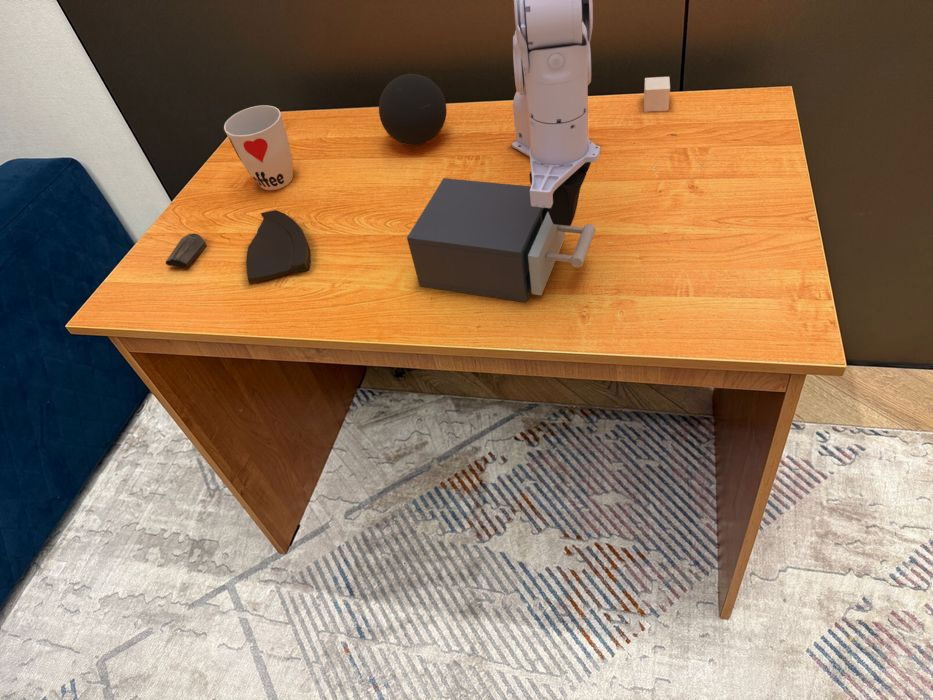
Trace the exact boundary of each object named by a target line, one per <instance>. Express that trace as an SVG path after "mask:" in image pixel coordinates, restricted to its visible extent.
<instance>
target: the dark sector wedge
mask: <svg viewBox="0 0 933 700" xmlns="http://www.w3.org/2000/svg"><path fill="white" fill-rule="evenodd" d="M260 216H261V217H262V222H261V223H260V225H259V226H258V228H257V230H256V234H255V236H254V237H253V238H252V240H251V242H250V243H249V245H248V246H247V252H246V260H245V263H246V264H245V265H246V274H247V276H246V277H247V282H248V283H250V284H252V283H258V282H264V281H268V280H273V279H276V278H280V277H283V276H286V275H291V274H294V273H300V272H307V271H309V270H310V268H311V263H312V262H311V258H312V257H311V249H310V245H309V242H308V241H307V238H306V235H305V233H304V230H303V229H302V227H301V226H300V225H299V224H298V223H297V222H296V221H295V220H294V219H293V218H292V217H290V216H289V215H287V214H286V213H284V212H282V211H280V210H277V209H273V210H268V211H263V212H261V213H260Z"/></svg>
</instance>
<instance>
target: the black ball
mask: <svg viewBox="0 0 933 700" xmlns="http://www.w3.org/2000/svg"><path fill="white" fill-rule="evenodd" d="M447 110H448V109H447V103H446V99H445V95H444V93H443V92H442V89H441V88H440V87H439V86H438V84H437V83H435V82H434V81H433V80H432V79H430V78H429V77H427V76H424V75H422V74H417V73H406V74H402V75H399V76H397V77H396V78H394V79H392V80H391V81H390V82H388V84H386V86H385V88H384V89H383V90H382V93H381V95H380V98H379V102H378V115H379V119H380V123H381V125H382V126H383V129H384V130H385V132H386V133H387V134H388V135H389V136H390V137H391V138H392V139H393V140H395V141H396V142H399V143H400V144H403V145H406V146H420V145H424V144H427V143H428V142H431V141H432V140H433V139H435V138H436V137H437V136H438V135H439V133H440V132H441V131H442V129H443V127H444V125H445V123H446V118H447Z"/></svg>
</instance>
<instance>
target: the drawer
mask: <svg viewBox="0 0 933 700" xmlns="http://www.w3.org/2000/svg"><path fill="white" fill-rule="evenodd" d="M566 233H570V234H579V238H578V240H577V243H576V246H575V249H574V250H573V253H572V255H570V254H562V253H560V252H561V249H562V246H563V244H564V241H565V238H566ZM595 233H596V227H595V225H593V224H591V223H586V224H585V225H584V226H576V225H571V226H564V225H556V224H553V222H552V220H551V218H550V215H549V212H547V214H546V216H545V219H544V221H542V213H541V215H540V218H539V220H538V222H537V224H536V226H535V229H534V231H533V233H532V235H531V237H530V240H529V242H528V244H527V246H526V249H525V251H524V253H523V254H524V264H525V273H526V276H527V274H528V272H530V282H531V295H536V296H542V295H543V293H544V292H545V291H544V290H545V288H546V285H547V283H548V280H549V278H550V276H551V273H552V271H553V269H554V266H555V265H556V262H563V263H570V264H571V266H573V267H575V268H581V267H582V266H583V265H584V262H585V261H586V257H587V255H588V252H589V249H590V247H591V244H592V241H593V239H594V236H595Z"/></svg>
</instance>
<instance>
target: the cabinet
mask: <svg viewBox="0 0 933 700" xmlns="http://www.w3.org/2000/svg"><path fill="white" fill-rule="evenodd" d="M530 188H531V185H520V184H510V183H502V182H501V183H500V182H490V181H489V182H488V181H479V180H468V179H459V178H458V179H457V178H448V177H444V178H442V180H441V181H440V183H439V185H438V186H437V188H436V190H435V191H434V193H433V195H432V196H431V198H430V199H429V201H428V203H427V204H426V206H425V207H424V209H423V211H422V212H421V213H420V215H419V217H418V218H417V220H416V222H415V224H414V225H413V227H412V229H411V230H410V232H409V233H408V235H407V237H406V240H407V244H408V248H409V251H410V255H411V259H412V263H413V265H414V266H413V267H414V270H415V275H416V278H417V283H418V286H419V287H422V288H429V289H435V290H436V289H437V290H443V291H449V292H455V293H460V294H461V293H462V294H467V295H473V296H474V295H475V296H482V297H488V298H494V299H495V298H496V299H500V300H506V301H507V300H508V301H514V302H521V303H527V302H528V300H529V297H530V295H531V294H532V291H531V282H530V272H528V274H527V276H526V273H525V264H524V254H523V253H524V251H525V249H526V246H527V244H528V242H529V240H530V237H531V235H532V233H533V231H534V229H535V226H536V224H537V222H538V220H539V218H540V215H541V213H542V221H544V219H545V216H546V214H547V212H548V210H547V208H541V207H533V206H531V200H530Z"/></svg>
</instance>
